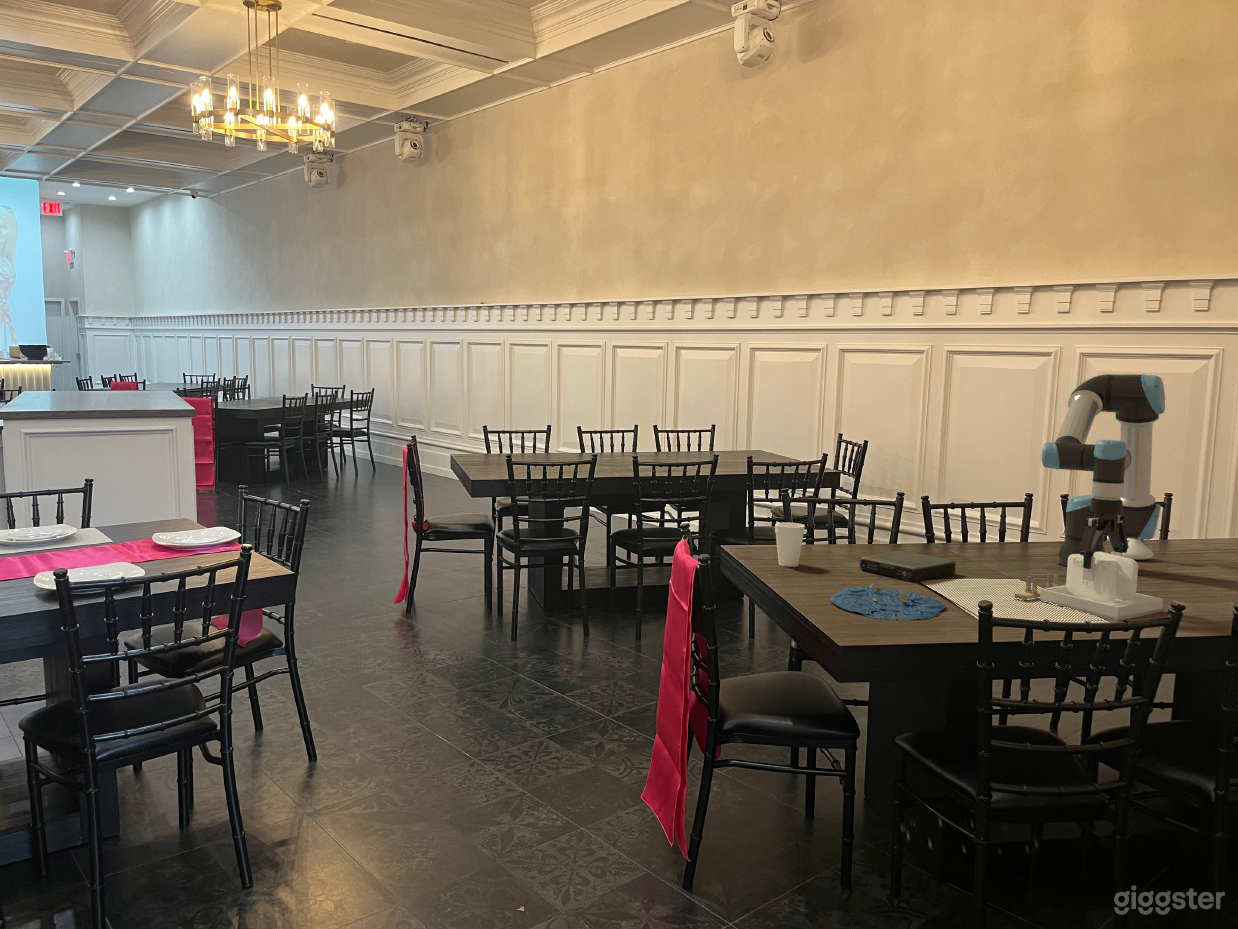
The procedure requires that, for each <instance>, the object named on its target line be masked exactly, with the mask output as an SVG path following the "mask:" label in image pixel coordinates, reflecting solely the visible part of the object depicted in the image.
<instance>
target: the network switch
mask: <svg viewBox="0 0 1238 929" xmlns="http://www.w3.org/2000/svg"><path fill="white" fill-rule="evenodd" d="M859 567H860V571H862V572H865V571H866V572H865V573H870V572H871V573H870V574H875V573H876V574H877V575H883V576H888V577H892V578H898V579H900V580H901V579H902V580H903V581H905V582H910V583H911V582H912V583H919V582H923V581H922V580H924V581H927V580H928V579H929V580H933V578H934V579H940V578H944V577H949V576H954V575H955V574H956V562H955V560H951V559H948V558H943V557H937V556H931V555H928V554H927V555H926V554H920V553H915V552H911V551H905V550H902V549H901V550H895V551H889V552H883V553H878V554H873V555H865V556H862V557H861V558H860V561H859Z"/></svg>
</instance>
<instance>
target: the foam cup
mask: <svg viewBox="0 0 1238 929" xmlns="http://www.w3.org/2000/svg"><path fill="white" fill-rule="evenodd" d="M805 528H806V527H805V524H804V523H803V524H802V523H797V522H778V523H775V525H774V532H775V539H776V548H777V549H776V551H777V560H778V565H779V566H783V567H788V568H789V567H793V568H794V567H798V566H799V564H800V557H801V553H802V552H801V551H802V545H803V540H804V534H805Z"/></svg>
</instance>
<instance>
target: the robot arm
mask: <svg viewBox="0 0 1238 929" xmlns="http://www.w3.org/2000/svg"><path fill="white" fill-rule="evenodd" d="M1165 394H1166V393H1165V386H1164V382H1163V379H1162V378H1161V377H1160V376H1158V375H1156V374H1155V375H1154V374H1145V373H1142V374H1111V373H1110V374H1109V373H1107V374H1105V373H1104V374H1099V375H1096V376H1094V377H1091V378H1088V379H1087V380H1085V381H1083V382H1082V383H1081V384H1079V385H1077V387H1075V389H1074V390H1073V391H1072V392H1071V394H1070V396H1069V398H1068V401H1067V406H1068V410H1067V412H1066V414H1065V417H1064V420H1063V422H1062V424H1061V427H1060V430H1059V432H1058V433H1057V436H1056V439H1055V441H1049V442H1048V441H1047V442H1045V443H1044V444H1043V446H1042V450H1041V464H1042V466H1043V467H1044V468H1047V469H1055V470H1066V471H1069V470H1070V471H1081V472H1082V471H1084V472H1093V473H1092V474H1093V475H1092V485H1091V486H1092V489H1091V494H1088V495H1085V494H1083V495H1077V496H1072V497H1070V498H1069V499H1068V500H1067V504H1066V509H1065V529H1064V541H1063V543H1062V546H1061V548H1060V550H1059V553H1058V555H1057V560H1056V562H1057V564H1058V565H1060V564H1061V566H1063V567H1067V566H1068V557H1069V556H1070V555H1072V554H1080V555H1083V556H1084V559H1083V578H1082V579H1083V580H1087V581H1094V569H1095V557H1093V555H1094V553H1095V552H1105V553H1107V550H1106V545H1105V537H1108V539H1109V542H1110V545H1111V547H1112V551H1111V552H1110V554H1113V555H1117V556H1122V553H1127V549H1128V542H1129V541H1128V539H1130V540H1131V539H1136V540H1138V539H1140V540H1144V541H1149V540H1153V538H1154V537H1155V534H1156V531H1157V527H1158V523H1159V517H1160V514H1161V508H1162V505H1161V504H1158V503H1156V496H1155V497H1154V495H1153V494H1152V493H1151V486H1152V485H1151V484H1152V483H1151V482H1152V479H1151V478H1152V453H1153V428H1154V427H1153V426H1154V423H1155V422H1157V421H1158V420H1159V419H1160V415H1162V414H1164V413H1165V410H1166V395H1165ZM1104 412H1105V413H1114V414H1115V420H1116V421H1117V422H1118V423H1120V437H1119V438H1120V440H1119V439H1117V440H1116V439H1099V440H1096V442H1095V443H1094V444H1090V443H1089V444H1088V443H1087V444H1086V441H1087V439H1088V437H1089V433H1090V431H1091V430H1092V429H1091V428H1092V426H1093V422H1094V420H1095V418H1096V417H1097V416H1098V415H1099V414H1100V413H1104Z"/></svg>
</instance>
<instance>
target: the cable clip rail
mask: <svg viewBox="0 0 1238 929" xmlns="http://www.w3.org/2000/svg"><path fill="white" fill-rule="evenodd" d="M1052 573H1053V572H1052ZM1052 573H1051V572H1048V573H1046V579H1045V580H1046V584H1045V587H1044V588H1050V587H1056V586H1059V584H1058V583H1059V574H1057V573H1056V574H1053V575H1052ZM1025 580H1026V582H1025V590H1024V592H1018V593H1014V599H1015V598H1019V599H1022V600H1027V599H1031V598H1037V597H1040V589H1038V580H1039V578H1038V577H1032V576H1031V575H1027V576H1026V579H1025ZM1066 582H1067V573H1066V576H1065V584H1064V585H1066Z"/></svg>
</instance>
